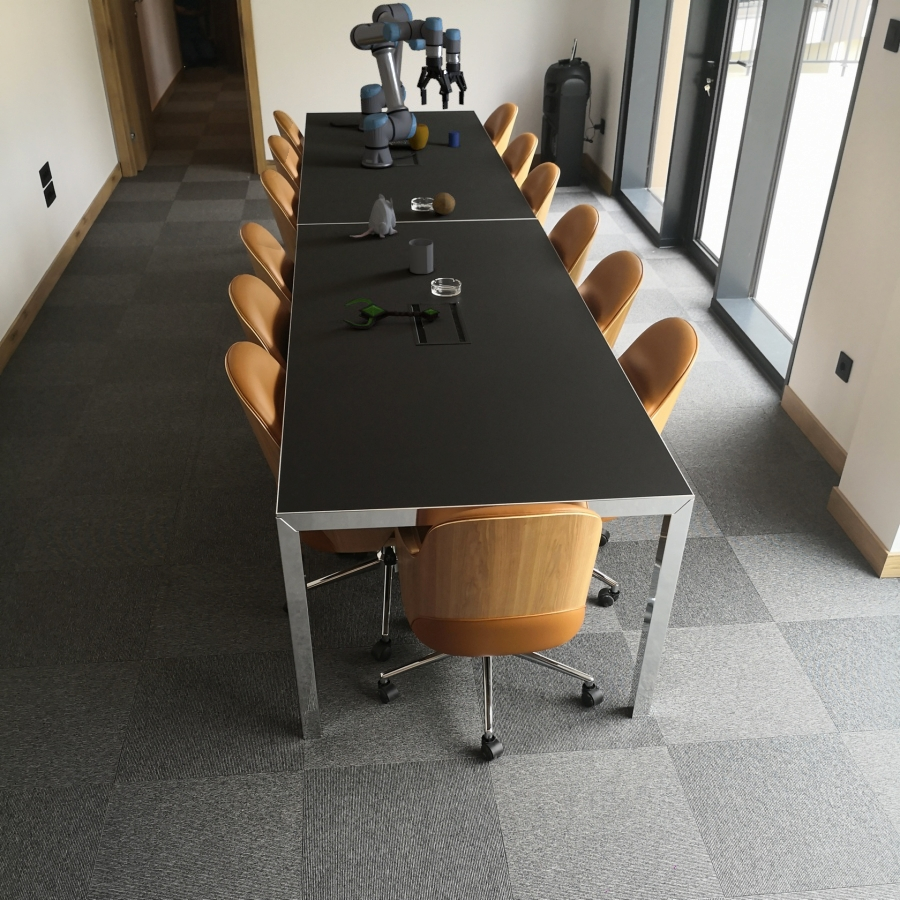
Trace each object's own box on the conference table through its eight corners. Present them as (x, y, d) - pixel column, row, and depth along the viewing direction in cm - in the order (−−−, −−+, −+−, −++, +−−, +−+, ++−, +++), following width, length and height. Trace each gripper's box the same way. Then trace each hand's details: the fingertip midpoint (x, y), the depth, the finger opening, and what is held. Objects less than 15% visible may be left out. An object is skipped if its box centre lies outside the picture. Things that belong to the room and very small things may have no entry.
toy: (402, 233, 342) (401, 194, 333) (358, 248, 327) (355, 208, 319) (387, 227, 347) (385, 190, 339) (342, 242, 332) (339, 203, 324)
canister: (459, 146, 459) (460, 133, 456) (449, 147, 459) (449, 133, 455) (458, 144, 464) (458, 130, 460) (447, 144, 463) (447, 131, 460)
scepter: (439, 293, 272) (343, 290, 270) (440, 323, 265) (342, 321, 263) (438, 306, 277) (344, 304, 275) (439, 336, 270) (342, 334, 268)
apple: (428, 151, 450) (427, 125, 443) (407, 151, 450) (406, 125, 443) (429, 146, 459) (428, 121, 452) (408, 146, 459) (408, 120, 452)
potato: (453, 208, 369) (453, 189, 365) (456, 218, 357) (456, 199, 353) (431, 208, 368) (430, 189, 364) (432, 218, 356) (432, 199, 352)
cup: (409, 265, 311) (408, 238, 306) (432, 265, 312) (431, 238, 307) (410, 274, 304) (409, 246, 299) (433, 273, 305) (433, 246, 299)
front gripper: (460, 58, 379) (460, 109, 390) (420, 52, 393) (421, 101, 405) (448, 60, 374) (448, 112, 386) (408, 54, 389) (409, 104, 400)
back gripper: (443, 66, 431) (443, 111, 442) (474, 60, 447) (473, 103, 458) (431, 64, 435) (432, 109, 446) (462, 58, 451) (462, 102, 462)
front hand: (434, 106), depth 395 cm, fingers open, 13 cm apart
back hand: (453, 106), depth 452 cm, fingers open, 13 cm apart
